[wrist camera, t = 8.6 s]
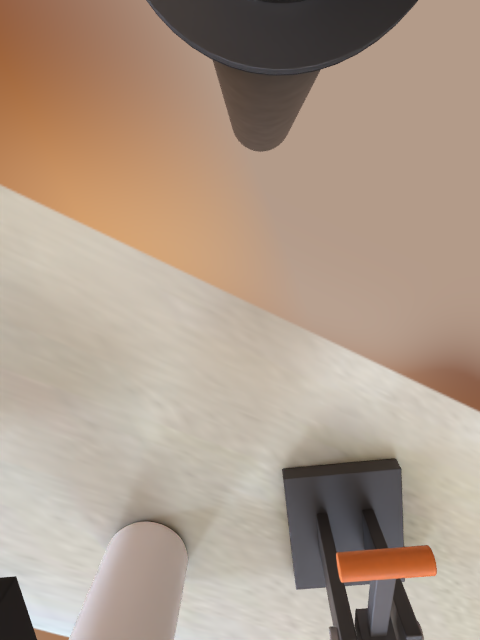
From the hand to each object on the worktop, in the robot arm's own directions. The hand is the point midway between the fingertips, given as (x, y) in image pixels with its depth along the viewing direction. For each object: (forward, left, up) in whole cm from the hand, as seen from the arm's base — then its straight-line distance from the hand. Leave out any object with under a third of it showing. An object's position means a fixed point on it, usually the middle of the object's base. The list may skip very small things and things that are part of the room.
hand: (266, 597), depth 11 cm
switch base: (+18, +9, -25) cm, 32 cm away
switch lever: (+13, +8, -13) cm, 20 cm away
